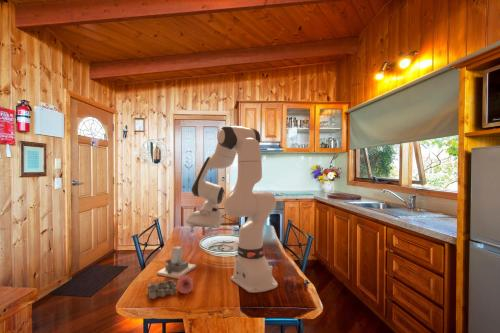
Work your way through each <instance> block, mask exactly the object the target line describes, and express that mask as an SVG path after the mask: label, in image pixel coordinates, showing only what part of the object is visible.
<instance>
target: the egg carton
mask: <svg viewBox="0 0 500 333" xmlns="http://www.w3.org/2000/svg"><path fill="white" fill-rule="evenodd" d="M176 284H177V283H176V282H175V280H174V278H172V279H169V280H164V281H159V282H151V283H150V284H148V285H147V286H146V287H147V295H148V299H153V300H154V299H155V300H156V298H158V297H165V296H166V295H175V293H177V290H176V289H178V288H177V285H176Z"/></svg>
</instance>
